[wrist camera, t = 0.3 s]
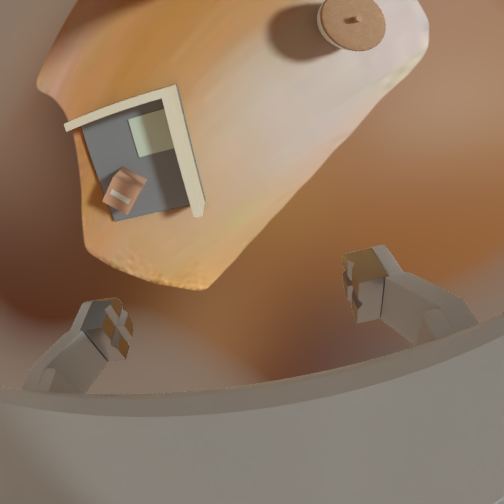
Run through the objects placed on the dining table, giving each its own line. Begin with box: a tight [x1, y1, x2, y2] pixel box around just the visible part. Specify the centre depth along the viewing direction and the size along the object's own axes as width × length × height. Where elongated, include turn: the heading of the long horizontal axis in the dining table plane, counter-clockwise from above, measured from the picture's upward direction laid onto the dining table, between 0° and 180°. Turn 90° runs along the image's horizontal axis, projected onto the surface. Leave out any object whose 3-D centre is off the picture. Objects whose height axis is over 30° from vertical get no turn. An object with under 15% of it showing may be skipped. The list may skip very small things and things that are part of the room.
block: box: [102, 166, 147, 215], centre depth 52 cm, size 6×6×6 cm
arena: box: [64, 84, 205, 222], centre depth 50 cm, size 23×20×7 cm
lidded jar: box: [317, 0, 386, 51], centre depth 37 cm, size 11×11×9 cm
